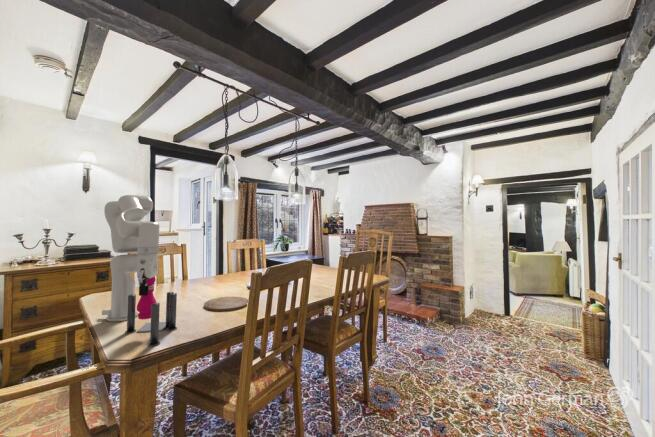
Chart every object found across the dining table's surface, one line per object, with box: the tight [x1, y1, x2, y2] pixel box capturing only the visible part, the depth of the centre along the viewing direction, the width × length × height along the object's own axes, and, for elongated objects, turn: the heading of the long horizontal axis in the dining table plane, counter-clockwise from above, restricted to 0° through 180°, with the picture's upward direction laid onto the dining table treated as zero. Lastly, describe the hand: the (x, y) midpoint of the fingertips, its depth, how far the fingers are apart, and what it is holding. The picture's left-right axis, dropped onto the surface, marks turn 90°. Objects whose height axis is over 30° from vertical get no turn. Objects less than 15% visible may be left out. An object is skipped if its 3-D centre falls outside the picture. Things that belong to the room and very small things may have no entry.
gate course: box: [124, 291, 178, 347], centre depth 115 cm, size 20×22×16 cm
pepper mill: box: [136, 276, 158, 320], centre depth 116 cm, size 7×7×20 cm
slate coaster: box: [136, 321, 166, 333], centre depth 125 cm, size 10×10×1 cm
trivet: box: [203, 296, 249, 312], centre depth 161 cm, size 25×25×2 cm
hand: (146, 293), depth 115 cm, fingers closed on pepper mill, 5 cm apart
